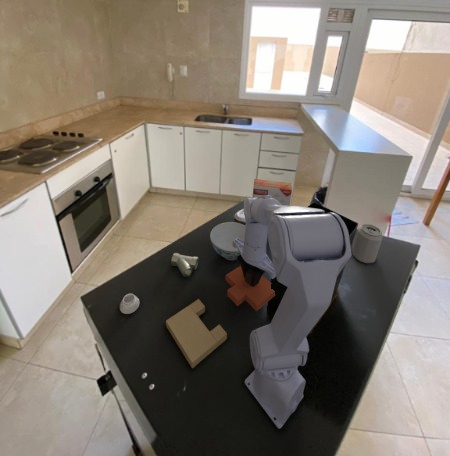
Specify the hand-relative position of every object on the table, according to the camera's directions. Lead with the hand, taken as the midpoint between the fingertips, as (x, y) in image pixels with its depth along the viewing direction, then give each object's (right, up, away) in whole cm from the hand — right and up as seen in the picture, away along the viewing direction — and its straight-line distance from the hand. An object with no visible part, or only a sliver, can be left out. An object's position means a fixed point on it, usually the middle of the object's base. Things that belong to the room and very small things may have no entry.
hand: (251, 280), depth 69 cm
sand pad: (-14, -10, -6) cm, 19 cm away
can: (+42, -2, +21) cm, 47 cm away
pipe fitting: (-21, -3, +12) cm, 24 cm away
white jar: (-33, -7, 0) cm, 34 cm away
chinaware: (-5, 0, +20) cm, 20 cm away
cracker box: (+10, +4, +33) cm, 34 cm away
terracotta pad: (-1, -2, 0) cm, 3 cm away
